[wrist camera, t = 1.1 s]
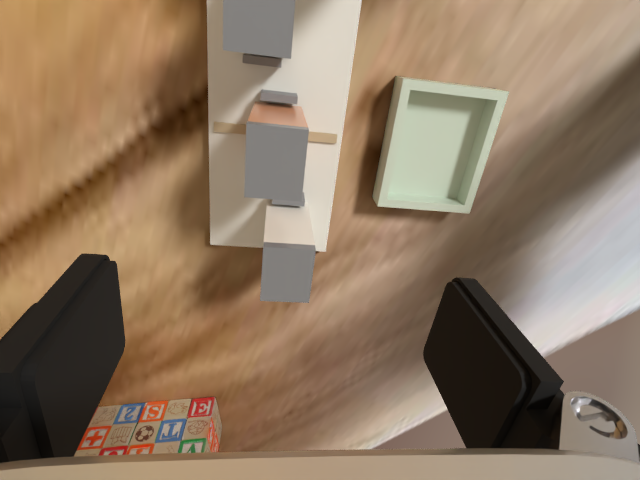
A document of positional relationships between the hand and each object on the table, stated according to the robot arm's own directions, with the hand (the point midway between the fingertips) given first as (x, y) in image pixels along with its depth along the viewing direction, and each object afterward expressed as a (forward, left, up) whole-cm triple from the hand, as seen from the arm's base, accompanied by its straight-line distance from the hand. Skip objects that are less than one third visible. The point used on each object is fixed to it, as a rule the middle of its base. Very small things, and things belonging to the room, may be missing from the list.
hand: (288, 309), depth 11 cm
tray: (-14, +1, -27) cm, 31 cm away
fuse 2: (-1, +10, -26) cm, 28 cm away
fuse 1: (+2, -8, -26) cm, 28 cm away
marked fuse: (0, +1, -26) cm, 26 cm away
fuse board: (+1, +1, -27) cm, 27 cm away
